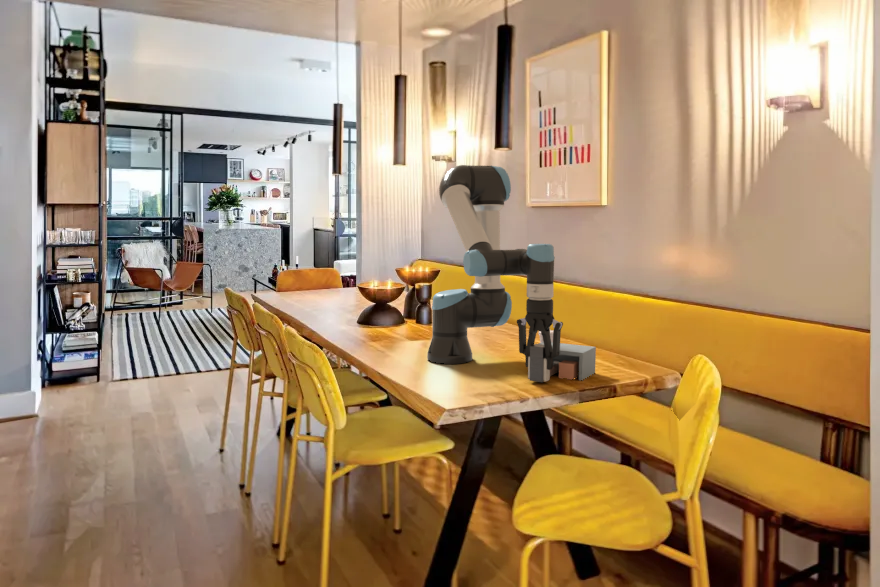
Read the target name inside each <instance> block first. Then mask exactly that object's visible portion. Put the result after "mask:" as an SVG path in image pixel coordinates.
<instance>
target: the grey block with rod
mask: <svg viewBox="0 0 880 587" xmlns="http://www.w3.org/2000/svg"><path fill="white" fill-rule="evenodd" d="M545 357H546V353H545V347H544V345H542V344H539V343H534V345H532V346H530V379H529V382H530V381H531V382H535V383H536V382H537V383H544V382H545V381H543V373H544V358H545ZM560 362H562V361H557V360H556V361H554V362H553V368H552V369H551V370H550V377H551V376H554V375H555V374H557V373H559V363H560Z"/></svg>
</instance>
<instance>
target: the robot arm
mask: <svg viewBox="0 0 880 587" xmlns="http://www.w3.org/2000/svg"><path fill="white" fill-rule="evenodd" d="M511 186H512V185H511V181H510V176H509V174H508V172H507V171H506V169H504V168H503V167H501V166H495V165H469V164H467V165H466V164H460V165H456V166H453V167H451V168H450V169H449V170H447V171H446V173H444V175H443V177H442V178H441V181H440V183H439V188H438V189H439V190H438V193H439V198H440V201H441V203H442V205H443V206H444V208H447V209H448V212H449V214H450V216H451V218H452V221H453V223H454V226H455V228H456V230H457V233H458V235H459V237H460V238H459V239H460V240H461V242H462V245H463V247H464V250H465V253H464V255H463V260H462V262H463V263H462V264H463V270H464V272H465V274H466V275H467V276H469V277H474V283H473V284H472V285H471V287H470V292H469V293H468V290H467V289H464V288H457V289H447V290H442V291H439V292H437V293H435V294H434V295H433V297H432V305H431V310H432V317H431V319H432V337H431V338H432V339H431V341H430V344H429V347H428V350H427V359H428V360H430V361H432V362H431V363H433V362H436V363H435V364H440V363H444V364H443V365H457V364H458V365H459V364H466V362H467V363H469V362H472V361H473V351H472V348H471V345H470V341H469V339H468V329H470V328H471V329H472V328H486V327H487V328H488V327H489V328H494V327H499V326H504V325H505V324H506V323H507V322H508V320H509V319H510V317H511V315H512V314H511V313H512V307H513V306H512V304H513V302H512V299H511V294H510V293H509V292H508V291H506V287H505V286H504V284H503V283H502V282H501V276H526V297H527V299H526V308H525V310H526V315H525V316H524V317H523V318H518V319H517V320H516V324H517V326H518V351H519V352H518V353H519V354H523V355H524V357H525V367H526V368H527V370H528V372H527V379H528V380H530V346H532V345H534V344H535V341H536V337H537V333H538V332H539V331H541V334H542V336H543V341H544V347H545V353H546V357H545V358H544V373H543V381H544V382H548V381H549V380H550V379H551V378H550V377H551V376H550V370H551V369H552V368H553V357H556V356H558V355H559V354H560V343H561V334H562V333H561V332H562V328H563V326H564V322H563V321H558V320H556V319H555V317H554V315H553V314H554V299H553V297H554V279H555V278H554V277H555V276H554V274H555V254H554V252H555V251H554V250H555V249H554V246H553V245H552V244H551V243H530V244H528V245H527V248H526V249H525V248H516V249H501V224H500V222H501V220H500V219H501V218H500V217H501V216H500V214H501V213H500V212H501V210H502V209H503V208H504V207H505V202H507V201H508V200H509V198H510V196H511V195H510V194H511V191H512V187H511ZM527 324H528V326H529V329H528V337H527V326H526V325H527ZM551 326H552V328H553V349H552V344H551V338H550V330H551ZM549 327H550V328H549ZM428 360H427V361H428ZM430 361H429V362H430Z"/></svg>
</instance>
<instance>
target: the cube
mask: <svg viewBox="0 0 880 587" xmlns="http://www.w3.org/2000/svg"><path fill="white" fill-rule="evenodd" d="M578 369H579V362H576V361H567V360H564V361H562V362H560V363H559V372H558V378H559V379H563V378H567V379H566V380H572V379H574V378H575V379H577V378H579V372H578ZM576 377H577V378H576ZM575 379H574V380H575Z"/></svg>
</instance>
